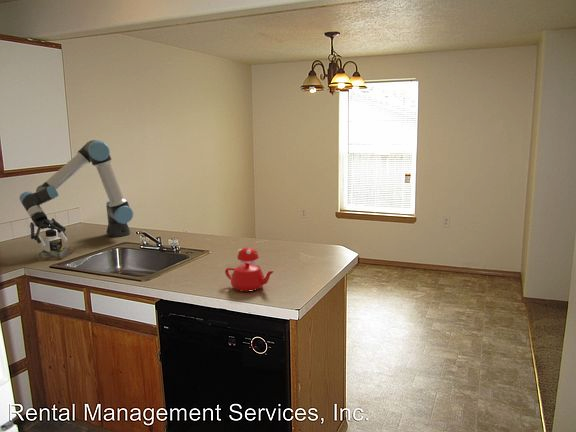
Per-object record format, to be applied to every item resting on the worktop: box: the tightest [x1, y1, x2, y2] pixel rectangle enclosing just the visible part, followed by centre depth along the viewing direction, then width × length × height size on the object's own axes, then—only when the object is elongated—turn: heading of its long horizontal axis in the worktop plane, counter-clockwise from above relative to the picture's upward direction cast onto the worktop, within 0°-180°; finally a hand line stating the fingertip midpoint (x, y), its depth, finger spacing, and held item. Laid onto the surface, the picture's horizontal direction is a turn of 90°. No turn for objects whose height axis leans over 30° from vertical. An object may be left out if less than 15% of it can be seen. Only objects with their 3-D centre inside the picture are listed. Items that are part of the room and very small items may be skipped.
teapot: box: [224, 262, 275, 292], centre depth 213 cm, size 25×16×12 cm, turn 66°
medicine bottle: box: [42, 228, 64, 253], centre depth 267 cm, size 7×7×12 cm
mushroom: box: [237, 246, 260, 266], centre depth 238 cm, size 11×11×12 cm
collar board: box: [35, 247, 73, 261], centre depth 269 cm, size 14×14×4 cm
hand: (55, 244), depth 266 cm, fingers open, 12 cm apart
